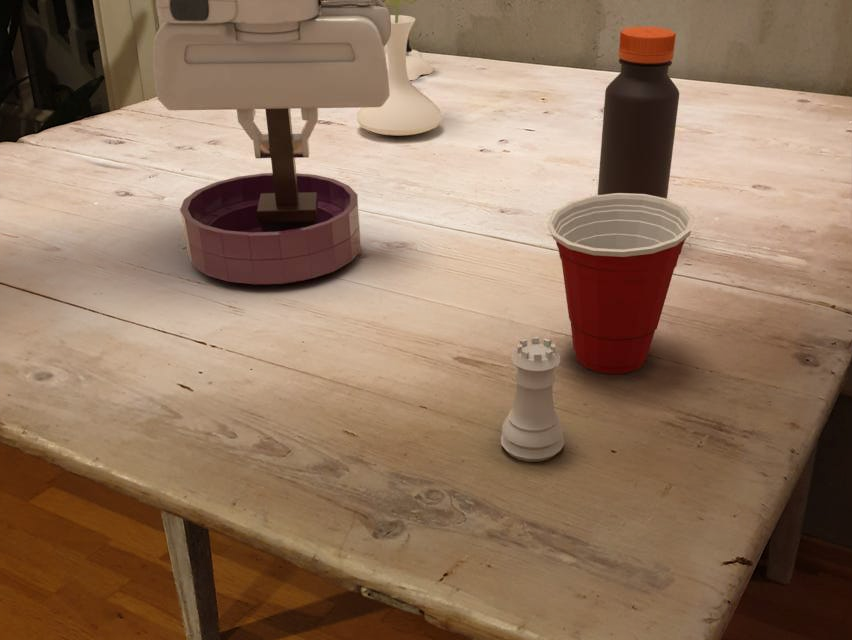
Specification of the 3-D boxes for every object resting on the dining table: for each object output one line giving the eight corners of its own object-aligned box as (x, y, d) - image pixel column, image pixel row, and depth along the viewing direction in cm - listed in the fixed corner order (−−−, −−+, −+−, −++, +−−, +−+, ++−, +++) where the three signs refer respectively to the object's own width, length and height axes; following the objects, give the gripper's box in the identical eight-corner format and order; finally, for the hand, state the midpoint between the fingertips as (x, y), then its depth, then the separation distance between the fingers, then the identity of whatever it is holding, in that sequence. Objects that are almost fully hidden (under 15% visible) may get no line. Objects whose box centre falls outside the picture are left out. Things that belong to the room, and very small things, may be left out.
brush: (261, 248, 92) (244, 112, 84) (264, 229, 95) (248, 97, 88) (318, 246, 92) (306, 112, 85) (320, 227, 96) (308, 97, 88)
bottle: (675, 243, 98) (701, 32, 86) (633, 262, 94) (655, 43, 82) (622, 225, 102) (641, 21, 90) (580, 242, 98) (594, 31, 86)
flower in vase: (410, 148, 122) (402, -75, 108) (339, 134, 127) (323, -82, 113) (465, 123, 132) (465, -86, 117) (397, 110, 136) (389, -92, 122)
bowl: (178, 295, 87) (167, 238, 84) (202, 227, 101) (193, 175, 97) (361, 288, 89) (357, 231, 86) (360, 221, 102) (357, 170, 99)
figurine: (285, 61, 155) (282, -51, 145) (367, 44, 167) (369, -60, 157) (373, 97, 146) (376, -21, 136) (453, 76, 157) (462, -33, 147)
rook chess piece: (576, 450, 67) (584, 349, 63) (526, 472, 65) (530, 369, 61) (537, 421, 70) (541, 323, 66) (487, 441, 68) (488, 341, 64)
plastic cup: (522, 336, 81) (526, 198, 74) (638, 318, 84) (653, 183, 77) (571, 401, 73) (581, 252, 66) (699, 379, 75) (722, 233, 69)
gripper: (388, -15, 85) (394, 143, 93) (149, -14, 83) (176, 147, 91) (390, -2, 80) (396, 164, 87) (135, 0, 78) (165, 169, 86)
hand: (282, 156), depth 89 cm, fingers closed on brush, 2 cm apart
